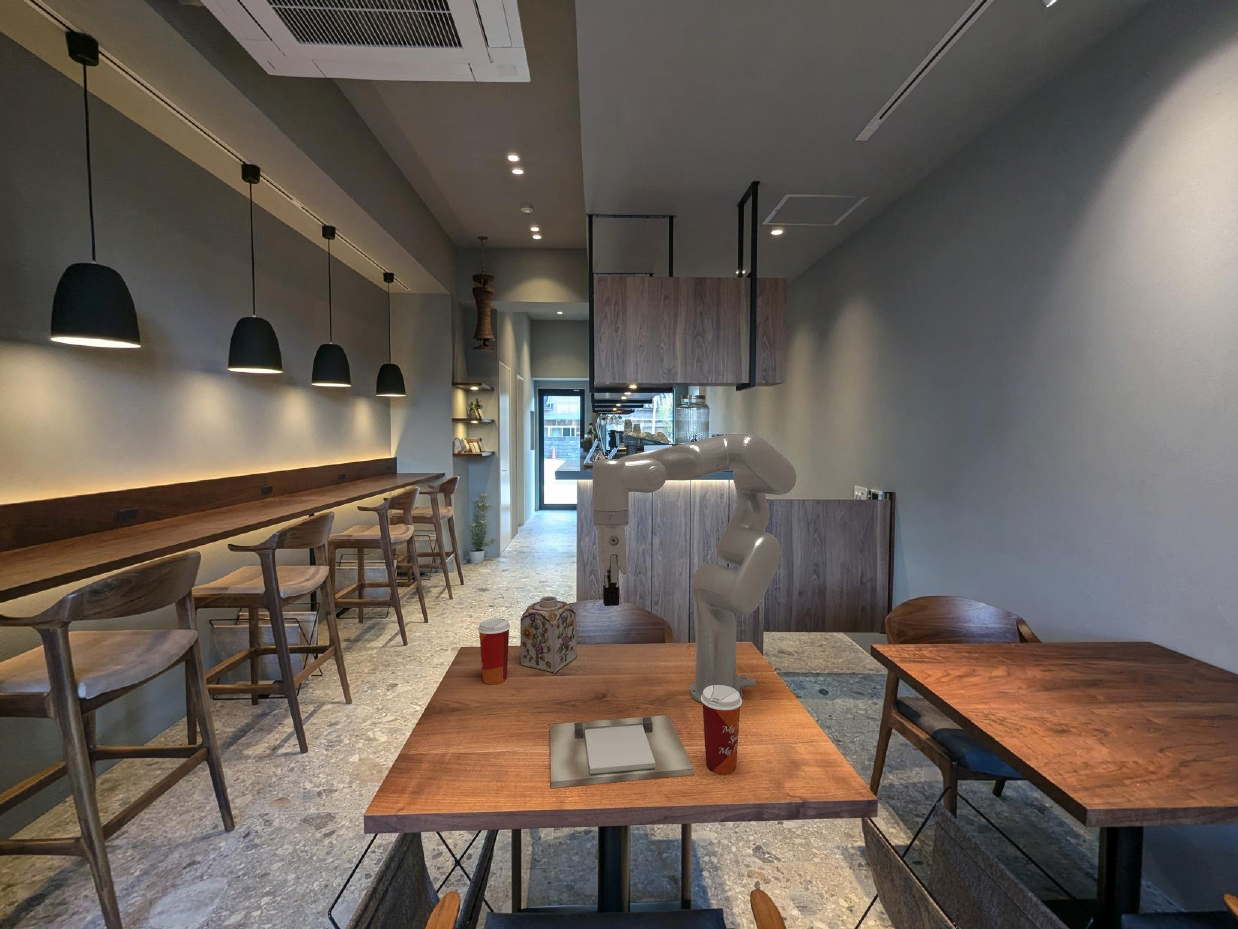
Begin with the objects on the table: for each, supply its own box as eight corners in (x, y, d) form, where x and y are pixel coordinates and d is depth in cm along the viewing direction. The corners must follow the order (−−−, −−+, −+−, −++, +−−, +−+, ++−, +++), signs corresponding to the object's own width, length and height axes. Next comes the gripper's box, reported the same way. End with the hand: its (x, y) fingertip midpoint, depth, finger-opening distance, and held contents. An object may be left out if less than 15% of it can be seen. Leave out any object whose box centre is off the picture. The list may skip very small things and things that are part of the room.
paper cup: (733, 783, 93) (733, 707, 93) (693, 769, 97) (694, 696, 97) (747, 761, 100) (748, 689, 99) (709, 748, 104) (710, 679, 103)
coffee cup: (496, 670, 141) (495, 615, 140) (517, 677, 136) (517, 621, 135) (471, 681, 134) (470, 624, 133) (492, 690, 129) (491, 630, 128)
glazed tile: (641, 722, 109) (655, 762, 95) (641, 727, 109) (655, 768, 95) (584, 726, 108) (590, 768, 94) (584, 732, 108) (590, 774, 94)
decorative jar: (543, 650, 154) (543, 590, 153) (577, 657, 148) (577, 595, 148) (519, 666, 143) (518, 601, 142) (554, 674, 138) (554, 607, 137)
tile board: (669, 720, 115) (669, 706, 114) (693, 774, 96) (693, 757, 96) (550, 730, 111) (549, 715, 111) (550, 788, 92) (550, 770, 92)
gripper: (634, 523, 102) (634, 615, 103) (623, 512, 117) (623, 593, 118) (596, 524, 101) (596, 617, 102) (589, 513, 116) (590, 595, 117)
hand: (611, 604), depth 110 cm, fingers closed
